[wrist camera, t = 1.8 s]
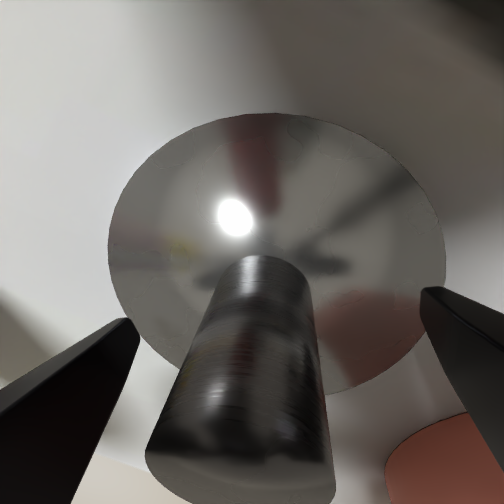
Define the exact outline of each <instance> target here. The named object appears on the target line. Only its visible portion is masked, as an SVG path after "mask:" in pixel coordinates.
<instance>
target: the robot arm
mask: <svg viewBox="0 0 504 504" xmlns="http://www.w3.org/2000/svg"><path fill="white" fill-rule="evenodd" d="M419 313H420V318H421V321H422V323H423V326H424V328H425V330H426V332H427V334H428V337H429V339H430V341H431V343H432V346H433V348H434V350H435V352H436V354H437V357H438V359H439V361H440V363H441V365H442V368H443V370H444V372H445V374H446V376H447V377H448V379H449V381H450V383H451V385H452V386H453V388H454V390H455V391H456V393H457V395H458V396H459V398H460V400H461V401H462V403H463V405H464V407H465V408H466V410H467V412H468V413H469V415H470V417H471V418H472V420H473V422H474V424H475V425H476V427H477V429H478V430H479V432H480V434H481V435H482V437H483V439H484V440H485V442H486V444H487V446H488V447H489V449H490V451H491V452H492V454H493V456H494V457H495V459H496V461H497V462H498V464H499V466H500V468H501V469H502V471H503V473H504V314H503V313H500V312H498V311H496V310H494V309H491V308H489V307H487V306H485V305H482V304H480V303H478V302H476V301H473V300H471V299H469V298H466V297H464V296H462V295H460V294H457V293H455V292H453V291H451V290H448V289H446V288H444V287H441V286H432V287H424V288H423V289H422V290H421V295H420V310H419ZM139 343H140V334H139V333H138V331H137V329H136V327H135V325H134V323H133V322H132V320H131V319H130V318H127V317H126V318H118V319H115V320H114V321H112V322H110V323H109V324H107V325H105V326H104V327H102V328H101V329H99V330H97V331H96V332H94V333H92V334H91V335H89V336H87V337H86V338H84V339H83V340H81V341H79V342H78V343H76V344H74V345H73V346H71V347H69V348H68V349H66V350H65V351H63V352H61V353H60V354H58V355H56V356H55V357H53V358H51V359H50V360H48V361H46V362H45V363H43V364H42V365H40V366H38V367H37V368H35V369H33V370H32V371H30V372H28V373H27V374H25V375H24V376H22V377H20V378H19V379H17V380H15V381H14V382H12V383H10V384H9V385H7V386H6V387H4V388H2V389H1V390H0V504H71V501H72V500H73V497H74V495H75V493H76V491H77V489H78V486H79V484H80V482H81V480H82V477H83V475H84V473H85V471H86V469H87V467H88V465H89V462H90V460H91V458H92V455H93V454H94V451H95V449H96V447H97V445H98V443H99V440H100V438H101V436H102V434H103V432H104V429H105V427H106V425H107V423H108V421H109V418H110V416H111V414H112V412H113V410H114V408H115V405H116V403H117V401H118V399H119V397H120V394H121V392H122V390H123V387H124V385H125V382H126V380H127V377H128V374H129V371H130V369H131V366H132V363H133V360H134V357H135V355H136V352H137V349H138V346H139Z"/></svg>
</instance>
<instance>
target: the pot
mask: <svg viewBox="0 0 504 504" xmlns="http://www.w3.org/2000/svg"><path fill="white" fill-rule="evenodd" d="M384 475H385V481H386V485H387V489H388V493H389V496H390V500H391V504H504V473H503V471H502V469H501V468H500V466H499V464H498V462H497V461H496V459H495V457H494V456H493V454H492V452H491V451H490V449H489V447H488V446H487V444H486V442H485V440H484V439H483V437H482V435H481V434H480V432H479V430H478V429H477V427H476V425H475V424H474V422H473V420H472V418H471V417H470V415H469V413H465V414H461V415H457V416H454V417H451V418H448V419H446V420H443V421H440V422H438V423H435V424H433V425H431V426H428V427H426V428H424V429H422V430H421V431H419V432H417V433H415V434H413V435H412V436H410V437H409V438H408V439H406V440H405V441H404V442H402V443H401V444H400V445H399V446H398V447H397V448H396V449H395V450H394V451H393V453H392V454H391V455H390V457H389V458H388V461H387V463H386V465H385V472H384Z"/></svg>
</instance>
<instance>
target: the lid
mask: <svg viewBox="0 0 504 504" xmlns="http://www.w3.org/2000/svg"><path fill="white" fill-rule="evenodd" d="M108 264H109V269H110V274H111V280H112V283H113V286H114V289H115V292H116V295H117V298H118V300H119V302H120V304H121V306H122V308H123V310H124V312H125V314H126V315H127V317H128V318H130V319H131V320H132V322H133V323H134V325H135V327H136V329H137V331H138V333H139V334H140V335H141V336H142V338H143V339H144V340H145V341H146V342H147V343H148V344H149V345H150V346H151V347H152V348H153V349H154V350H155V351H156V352H157V353H159V354H160V355H161V356H162V357H163V358H165V359H166V360H167V361H168V362H170V363H171V364H173V365H174V366H176V367H177V368H178V369H180V371H179V373H178V375H177V378H176V380H175V382H174V385H173V387H172V389H171V391H170V394H169V396H168V398H167V401H166V403H165V405H164V407H163V410H162V412H161V414H160V417H159V419H158V421H157V423H156V426H155V428H154V430H153V433H152V435H151V437H150V439H149V442H148V444H147V447H146V450H145V460H146V464H147V466H148V468H149V470H150V472H151V473H152V475H153V476H154V477H155V478H156V479H157V480H158V481H159V482H160V483H161V484H162V485H163V486H164V487H166V488H167V489H168V490H170V491H171V492H172V493H174V494H175V495H177V496H179V497H181V498H183V499H184V500H186V501H188V502H190V503H192V504H329V503H330V502H331V501H332V499H333V498H334V496H335V492H336V481H335V473H334V466H333V458H332V450H331V443H330V435H329V427H328V419H327V412H326V404H325V395H329V394H333V393H337V392H341V391H344V390H347V389H350V388H352V387H355V386H358V385H360V384H362V383H364V382H366V381H368V380H371V379H372V378H374V377H376V376H377V375H379V374H381V373H382V372H384V371H386V370H387V369H389V368H390V367H391V366H392V365H394V364H395V363H396V362H398V361H399V360H400V359H401V358H402V357H403V356H405V355H406V354H407V353H408V352H409V351H410V350H411V349H412V348H413V347H414V345H415V344H416V343H417V342H418V340H419V339H420V338H421V336H422V335H423V334H424V333H425V331H426V330H425V328H424V326H423V323H422V321H421V318H420V313H419V310H420V295H421V290H422V289H423V288H424V287H432V286H441V287H444V282H445V276H446V252H445V246H444V239H443V234H442V231H441V228H440V225H439V222H438V219H437V216H436V213H435V211H434V209H433V207H432V205H431V203H430V202H429V200H428V198H427V196H426V194H425V193H424V191H423V189H422V188H421V187H420V186H419V184H418V183H417V182H416V181H415V179H414V178H413V177H412V176H411V174H410V173H409V172H408V171H407V170H406V169H405V168H404V167H403V166H402V165H401V164H400V163H399V162H397V161H396V160H395V159H394V158H393V157H392V156H391V155H390V154H389V153H387V152H386V151H385V150H383V149H382V148H380V147H378V146H377V145H375V144H374V143H372V142H371V141H369V140H367V139H366V138H364V137H363V136H361V135H358V134H356V133H354V132H352V131H349V130H347V129H345V128H343V127H340V126H338V125H336V124H332V123H329V122H325V121H321V120H318V119H314V118H310V117H306V116H298V115H289V114H280V113H263V114H244V115H239V116H234V117H228V118H223V119H218V120H215V121H212V122H210V123H207V124H204V125H201V126H198V127H195V128H193V129H191V130H189V131H187V132H185V133H183V134H182V135H180V136H178V137H176V138H174V139H172V140H170V141H169V142H168V143H166V144H165V145H164V146H162V147H161V148H160V149H159V150H157V151H156V152H155V153H153V154H152V155H151V156H150V157H149V158H148V159H147V160H146V161H145V162H144V163H143V164H142V165H141V166H140V167H139V168H138V169H137V171H136V172H135V173H134V174H133V176H132V177H131V179H130V180H129V182H128V183H127V185H126V186H125V188H124V189H123V191H122V193H121V196H120V198H119V200H118V202H117V204H116V207H115V209H114V213H113V216H112V220H111V224H110V228H109V238H108Z"/></svg>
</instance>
